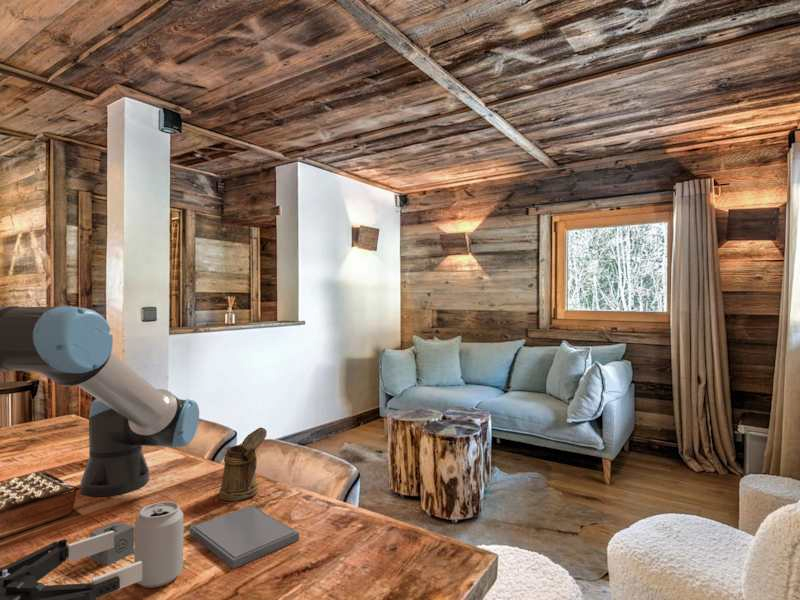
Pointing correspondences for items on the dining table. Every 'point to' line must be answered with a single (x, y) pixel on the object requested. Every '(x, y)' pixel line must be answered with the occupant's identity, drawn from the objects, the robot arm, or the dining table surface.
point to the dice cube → (115, 543)
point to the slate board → (243, 535)
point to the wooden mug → (241, 468)
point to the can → (159, 543)
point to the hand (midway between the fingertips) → (126, 553)
